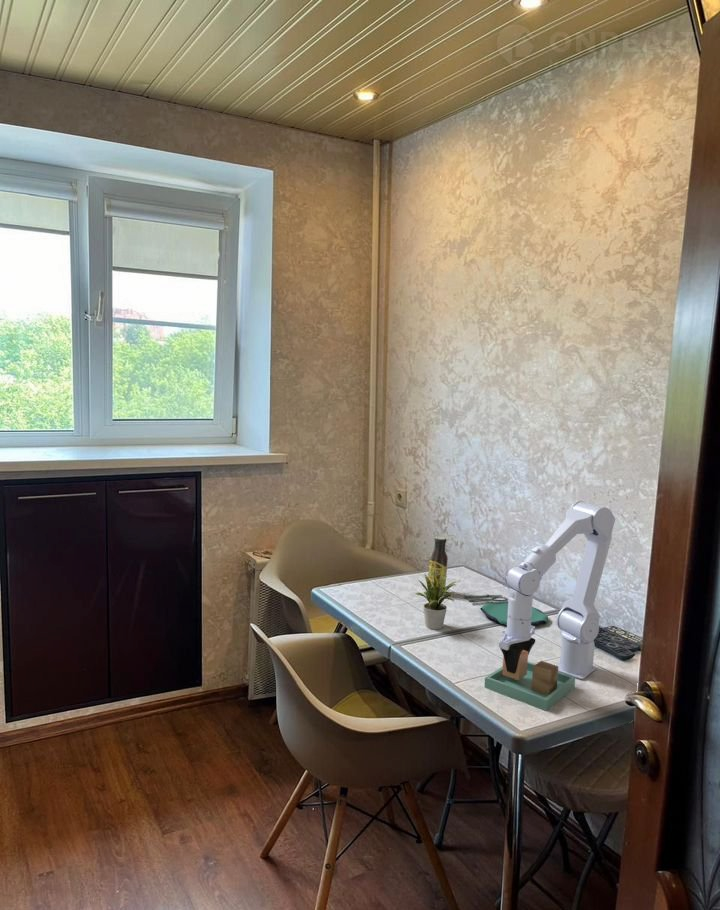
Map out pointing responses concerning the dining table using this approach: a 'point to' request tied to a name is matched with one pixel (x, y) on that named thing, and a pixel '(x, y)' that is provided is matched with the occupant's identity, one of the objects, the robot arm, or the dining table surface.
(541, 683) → the walnut block
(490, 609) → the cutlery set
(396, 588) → the dining table surface
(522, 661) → the terracotta block
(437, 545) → the sauce bottle
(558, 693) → the tray
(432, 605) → the house plant
